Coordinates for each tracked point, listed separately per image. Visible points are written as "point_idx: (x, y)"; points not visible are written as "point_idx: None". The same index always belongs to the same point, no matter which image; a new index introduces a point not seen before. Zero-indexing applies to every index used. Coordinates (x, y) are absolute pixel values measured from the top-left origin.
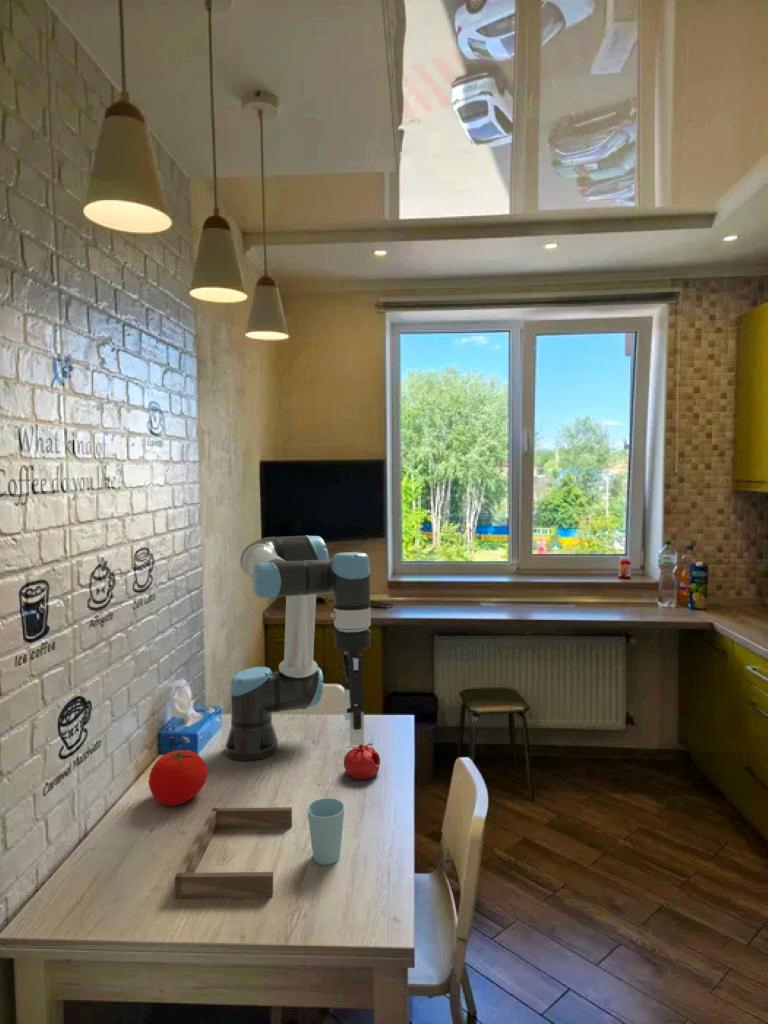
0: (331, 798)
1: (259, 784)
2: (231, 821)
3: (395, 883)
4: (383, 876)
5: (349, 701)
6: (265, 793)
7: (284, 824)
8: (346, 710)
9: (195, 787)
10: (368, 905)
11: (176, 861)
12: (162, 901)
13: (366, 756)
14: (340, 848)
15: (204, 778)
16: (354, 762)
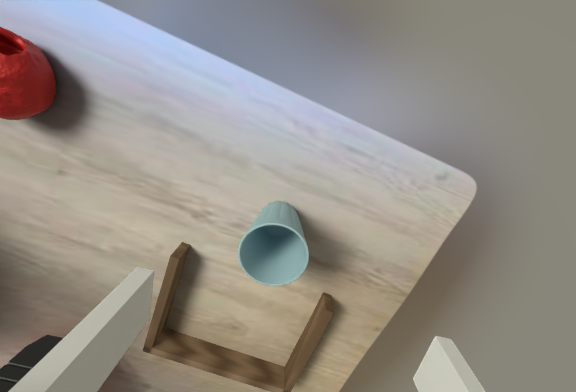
0: (244, 238)
1: (46, 261)
2: (164, 319)
3: (378, 149)
4: (355, 160)
5: (86, 387)
6: (78, 258)
7: (185, 255)
8: (121, 350)
9: None
10: (400, 199)
11: None
12: None
13: (6, 70)
14: (288, 206)
15: None
16: (22, 103)
